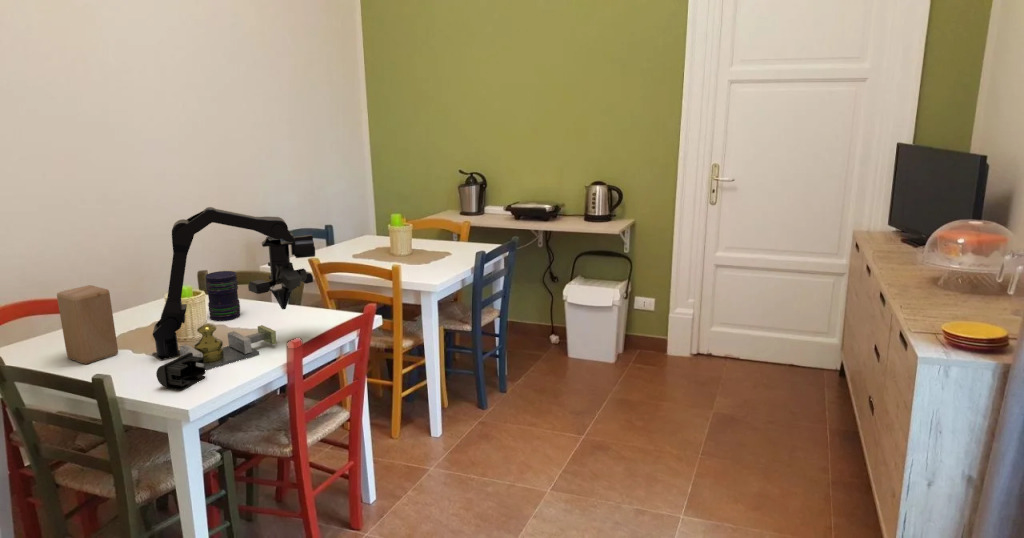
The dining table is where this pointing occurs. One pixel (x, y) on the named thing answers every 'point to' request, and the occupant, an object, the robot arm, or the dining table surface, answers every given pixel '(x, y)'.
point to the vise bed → (229, 357)
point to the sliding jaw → (251, 339)
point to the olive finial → (209, 344)
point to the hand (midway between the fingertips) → (283, 309)
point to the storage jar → (223, 295)
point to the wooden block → (87, 323)
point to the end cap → (181, 372)
